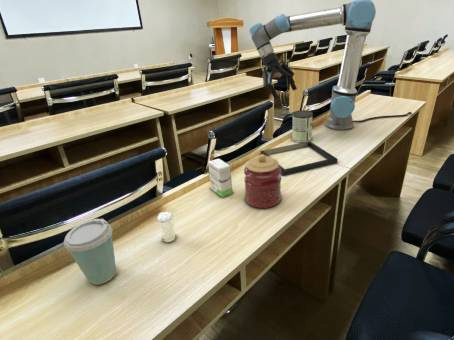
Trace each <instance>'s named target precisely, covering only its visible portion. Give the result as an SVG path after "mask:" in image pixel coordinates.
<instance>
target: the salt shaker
mask: <svg viewBox="0 0 454 340" xmlns="http://www.w3.org/2000/svg"><path fill="white" fill-rule="evenodd" d="M153 217H154V218H156V221H157V223H158V226H159V229H160V232H161V234H162V237H163V241H164V242H165V243H172V242H174V241H175V239H176V233H175V223H174V222H175V221H174V214H173V213H172V212H170V211H161V212H160V213H158V215H157V217H155V215H153Z"/></svg>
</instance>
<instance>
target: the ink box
mask: <svg viewBox="0 0 454 340" xmlns="http://www.w3.org/2000/svg"><path fill="white" fill-rule="evenodd" d="M207 163H208V172H209V181H210V189H211V190H212V191H213V192H215V194H218V195H219V196H220V197H221V198H224V197H226V196H229V195H231V194H233V193H234V192H233V182H232V172H231V171H232V170H231V165H229V164H228V163H227V162H226V161H224V160H222V159H221V158H215V159H211V160H209V161H207Z"/></svg>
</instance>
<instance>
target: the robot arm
mask: <svg viewBox="0 0 454 340" xmlns="http://www.w3.org/2000/svg"><path fill="white" fill-rule="evenodd" d="M376 11H377V10H376V6H375V3H374V2H373V1H372V0H354V1H351V2H348V3H344V4H341V5H340V6H338V7H333V8H327V9H321V10H316V11H309V12H304V13H298V14H293V15H292V14H291V15H287V16H286V14H285V13H281V14H280V15H277V16H276V17H275V18H274V17H273V19H271V20H270V21H268V22H267V23H265V24H263V23H261V22H258V23H255V24H253V25H252V26H250V28H249V29H248V32H249V36H250V38H251V40H252V42H253V45H254V46H255V48H256V51H257V53H258V55H259V57H260V59H261V61H262V63H263V65H264V67H262V68H261V73H262V85H263V88H264V89H268V91H269V93H270V94H271V96H272V97H273V99H274V101H276V100H277V99H278V98H279V96H278V93H277V91H276V89H275V87H274V85H272V83H273V77H274V75H275V74H277V73H280V74H281V75H282V76H284V77H286V78H287V81H288V84H289V86H290V88H291V90H292V92H294V91H296V90H298V88H297V85H296V82H295V80H294V76H295V72H294V71H293V70H292V69H291V67H289V66H288V65H287V64H286V62H285V61H284V60H283V59H281V60H280V61H279V60H278V56H277V54H276V52H275V50H274V47H273V45H272V43H271V40H273V39H274V38H276V37H278V36H280V35H281V34H285V33H291V32H297V31H298V32H299V31H304V30H305V31H306V30H311V29H316V28H317V29H318V28H322V27H331V26H336V25H341V26H343V27H344V26H345V27H344V32H345V33H346V39H345V45H344V49H343V54H342V58H341V65H340V69H339V74H338V75H339V76H338V79H337V80H338V81H337V85H333V86H332V89H331V101H330V112H329V114H328V118H327V120H326V122H325V126H326V127H327V128H329V129H332V130H337V131H347V130H350V129H353V128H354V123H363V122H367V121H370V120H375V119H381V118H382V119H384V118H398V117H406V116H409V115H412V114H413V113H412V111H409V112H407V113H404V114H394V115H380V116H373V117H368V118H365V119H361V120H354V119H353V116H352V114H353V113H354V111H355V108H356V104H355V103H356V98H357V93H358V90H357V88H356V83H357V78H358V75H359V69H360V65H361V60H362V56H363V51H364V47H365V43H366V37H367V36H368V35H369V34H371V31H372V27H373V22H374V20H375V18H376ZM279 99H280V98H279Z"/></svg>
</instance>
